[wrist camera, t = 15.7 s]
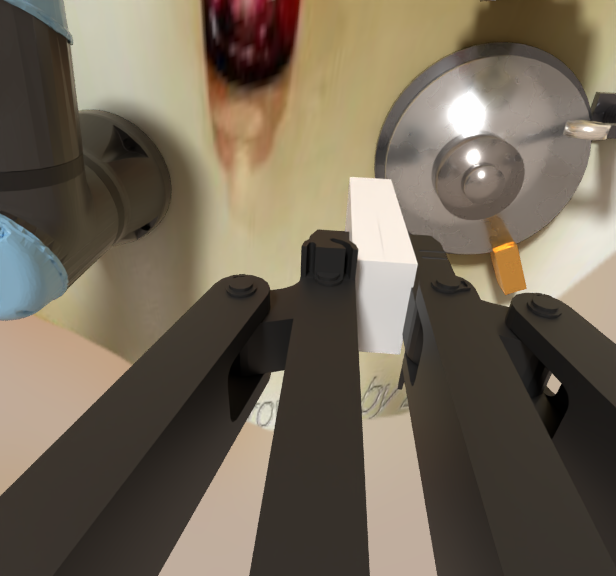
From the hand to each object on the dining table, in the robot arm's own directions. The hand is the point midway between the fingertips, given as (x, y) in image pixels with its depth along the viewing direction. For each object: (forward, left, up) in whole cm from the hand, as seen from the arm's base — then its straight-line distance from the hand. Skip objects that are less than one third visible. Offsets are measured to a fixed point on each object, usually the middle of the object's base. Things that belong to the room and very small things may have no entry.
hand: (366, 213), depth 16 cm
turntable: (+15, -8, -31) cm, 36 cm away
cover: (+13, -6, -29) cm, 33 cm away
